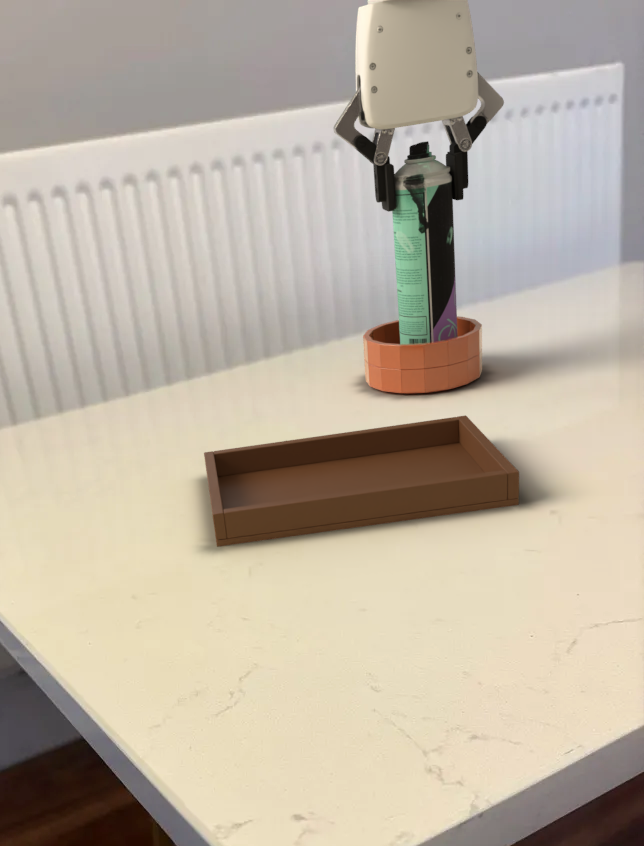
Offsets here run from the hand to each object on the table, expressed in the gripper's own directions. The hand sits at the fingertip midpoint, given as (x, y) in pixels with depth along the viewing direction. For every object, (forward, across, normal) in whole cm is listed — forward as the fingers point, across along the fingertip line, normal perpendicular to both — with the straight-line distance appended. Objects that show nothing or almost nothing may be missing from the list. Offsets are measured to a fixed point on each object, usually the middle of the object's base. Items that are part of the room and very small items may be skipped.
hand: (422, 202), depth 95 cm
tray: (+17, +13, +26) cm, 34 cm away
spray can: (+15, 0, 0) cm, 15 cm away
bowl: (+17, +1, -1) cm, 17 cm away
